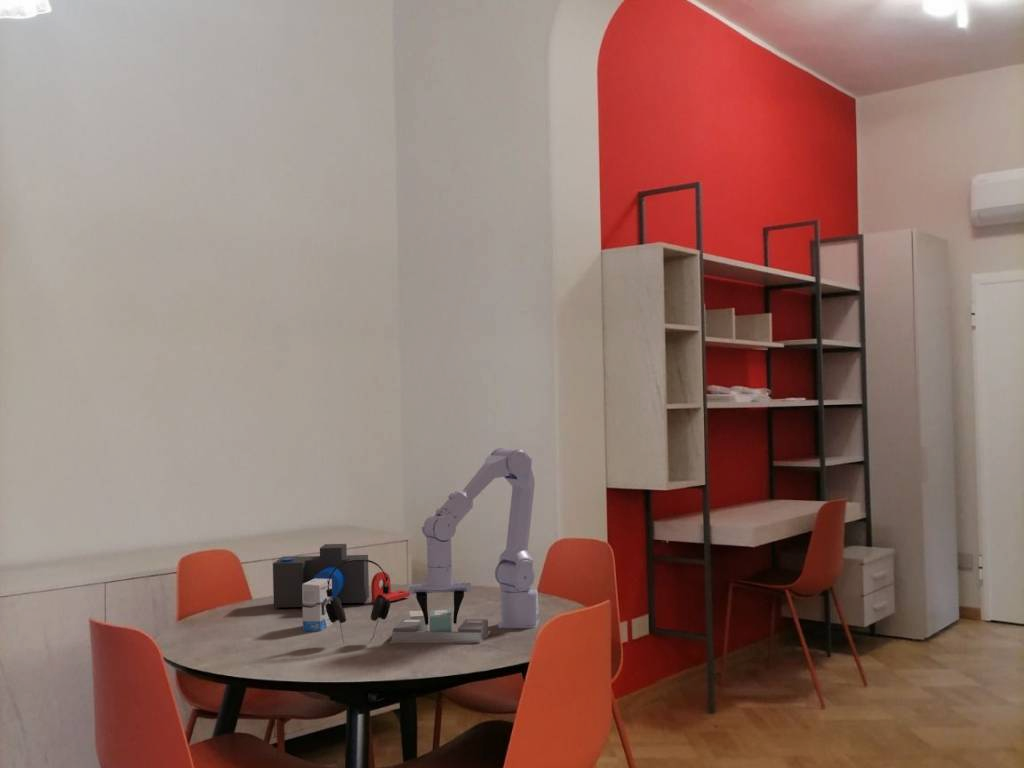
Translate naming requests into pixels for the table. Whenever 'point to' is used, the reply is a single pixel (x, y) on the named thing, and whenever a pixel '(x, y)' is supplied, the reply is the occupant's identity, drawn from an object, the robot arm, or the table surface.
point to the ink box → (315, 604)
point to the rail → (436, 637)
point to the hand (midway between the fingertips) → (440, 623)
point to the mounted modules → (466, 626)
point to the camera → (321, 576)
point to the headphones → (379, 606)
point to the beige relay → (417, 616)
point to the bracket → (379, 591)
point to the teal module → (441, 620)
